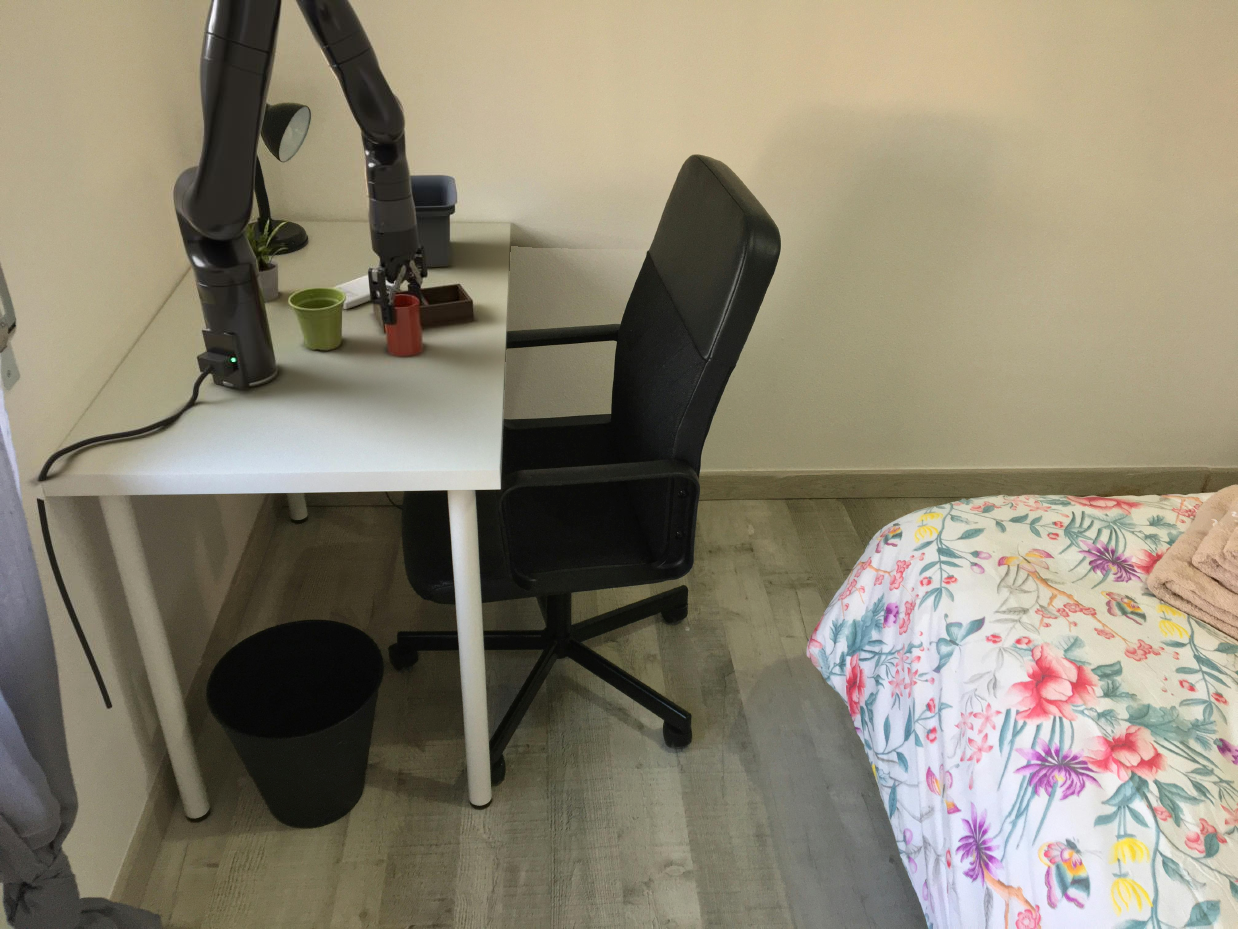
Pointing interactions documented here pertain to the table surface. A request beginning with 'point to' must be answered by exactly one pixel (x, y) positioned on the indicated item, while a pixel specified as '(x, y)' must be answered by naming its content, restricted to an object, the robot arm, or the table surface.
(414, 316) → the cup
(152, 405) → the table surface
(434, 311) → the caddy
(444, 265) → the storage bin
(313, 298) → the plant pot
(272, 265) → the house plant
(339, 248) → the table surface
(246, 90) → the robot arm
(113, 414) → the table surface
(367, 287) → the hard drive
